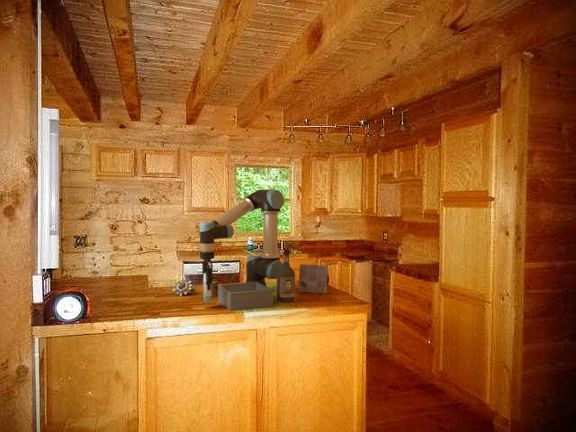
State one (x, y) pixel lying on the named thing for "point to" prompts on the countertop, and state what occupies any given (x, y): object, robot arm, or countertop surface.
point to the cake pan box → (313, 278)
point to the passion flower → (183, 287)
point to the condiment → (214, 287)
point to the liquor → (286, 280)
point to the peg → (206, 298)
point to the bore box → (245, 296)
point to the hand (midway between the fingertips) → (207, 294)
